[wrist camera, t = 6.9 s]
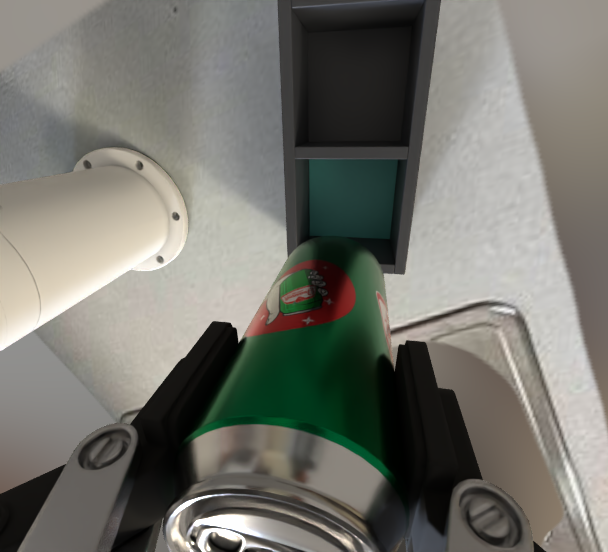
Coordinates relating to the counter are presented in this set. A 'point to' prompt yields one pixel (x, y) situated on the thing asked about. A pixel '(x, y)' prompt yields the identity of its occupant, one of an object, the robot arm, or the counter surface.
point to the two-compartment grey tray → (354, 118)
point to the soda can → (300, 421)
